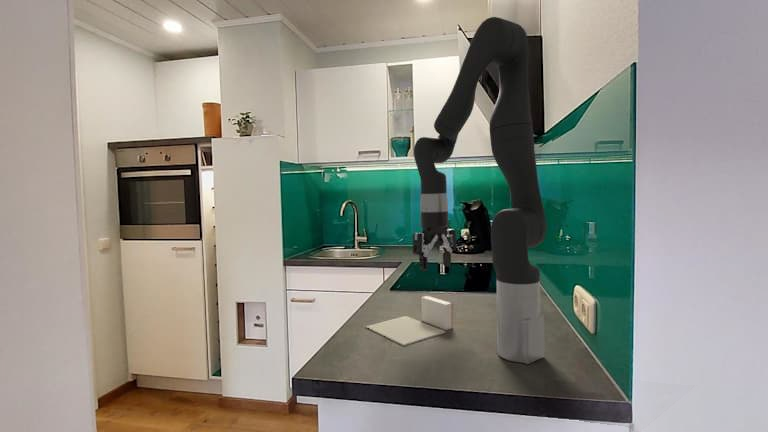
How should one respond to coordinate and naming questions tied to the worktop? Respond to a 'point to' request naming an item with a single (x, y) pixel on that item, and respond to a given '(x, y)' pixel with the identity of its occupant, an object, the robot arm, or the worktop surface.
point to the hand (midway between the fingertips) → (435, 268)
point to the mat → (405, 330)
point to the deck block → (437, 312)
